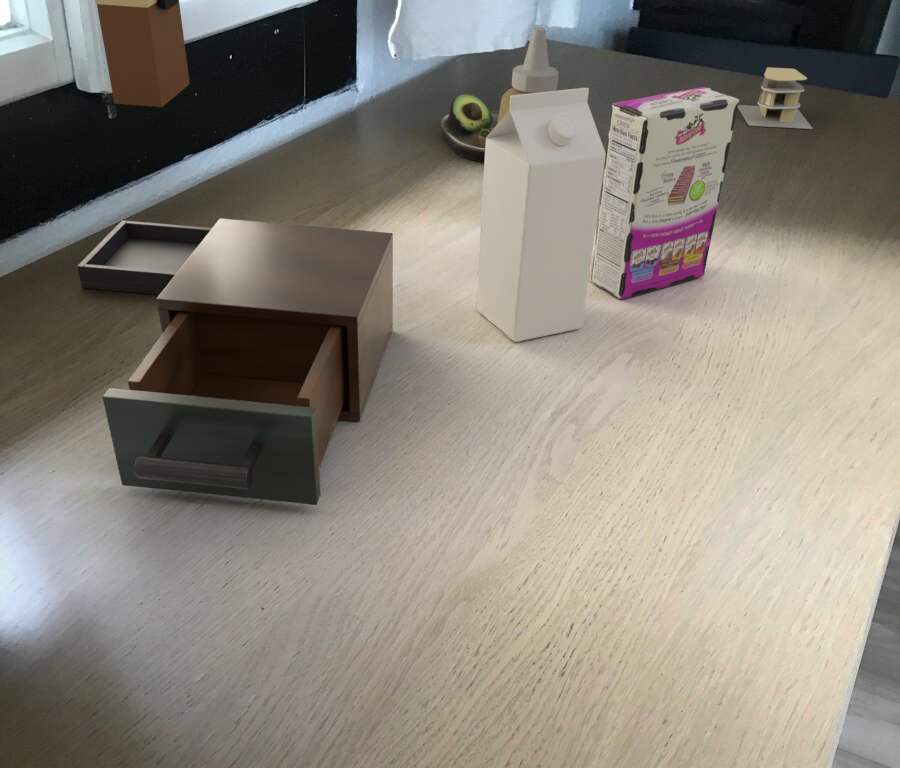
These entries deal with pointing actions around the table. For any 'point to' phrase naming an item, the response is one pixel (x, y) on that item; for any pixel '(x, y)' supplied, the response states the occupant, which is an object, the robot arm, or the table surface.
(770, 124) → the stacked layers on plate
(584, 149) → the milk carton
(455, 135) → the salad plate
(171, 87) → the block
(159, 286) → the tray
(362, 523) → the table surface
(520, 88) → the squeeze bottle
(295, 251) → the cabinet
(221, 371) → the drawer
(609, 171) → the candy bar box
